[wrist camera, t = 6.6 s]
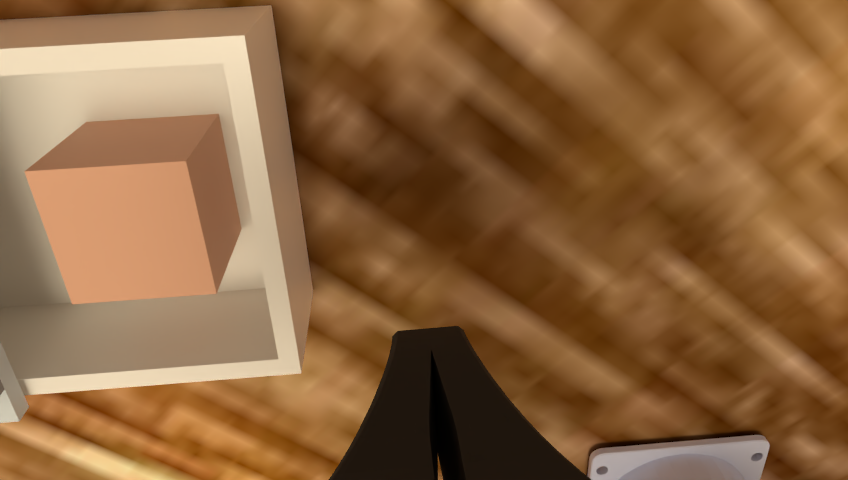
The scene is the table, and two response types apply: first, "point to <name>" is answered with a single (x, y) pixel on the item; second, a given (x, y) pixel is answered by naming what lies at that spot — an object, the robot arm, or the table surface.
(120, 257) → the terracotta block
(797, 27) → the table surface
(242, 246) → the box
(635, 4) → the table surface
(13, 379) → the lid
